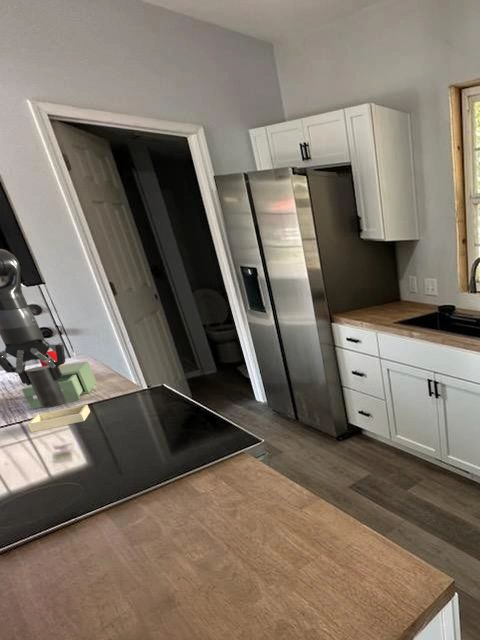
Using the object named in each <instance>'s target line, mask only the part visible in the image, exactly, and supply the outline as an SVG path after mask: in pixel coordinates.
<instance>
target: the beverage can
mask: <svg viewBox="0 0 480 640" xmlns="http://www.w3.org/2000/svg"><path fill="white" fill-rule="evenodd" d="M47 354H48V355H49V356H51V357H52V359H53V360H54V361H55V362H56V361H57V355H56V352H55V351H53V350H52V348H49V349H48V351H47ZM38 361H39V363H40V365H41V366H48V365H47V364H46V363H44V362H43V361H42V360H40V359H39V360H38ZM62 365H67V364H66V362H65V363H64V364H62Z"/></svg>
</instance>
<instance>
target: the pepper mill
mask: <svg viewBox="0 0 480 640" xmlns="http://www.w3.org/2000/svg"><path fill="white" fill-rule="evenodd" d="M50 369H51V367H49V366H42V365H41V366H36V367H31V368H27V369H25V373H26V375H27V377H28V379H29V381H30V383H31V385H32V387H33V389H34V392H35V394H36V396H37V398H38V400H39V402H40V404H41V406H42V407H41V408H49V407H54V406H59V405H61V404H64V403H67V402H66V398H65V396H64V394H63V392H62V389H61V387H60V385H59V383H58V381H57V380H55V378H54V376H53V374H52V372H51V370H50Z"/></svg>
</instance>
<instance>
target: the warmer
mask: <svg viewBox="0 0 480 640" xmlns="http://www.w3.org/2000/svg"><path fill="white" fill-rule="evenodd" d="M59 369H60V371H61V373H62V376H63V375H69V374H75V373H77V374H78V376H79V378H80V380H81V383H82V385H83V387H84V390H83V391H82V393H81V394H80V395H79V396H82V395H86V394H90V393H91V391H92V390H93V388H94V387H95V386H96V385H97V383H96V382H97V380H96V377H95V375H94V372H93V370H92V368H91V365H90V364H89V361H87V360H86V361H81V362H75V363H68V364H66V365H60V366H59ZM94 385H95V386H94Z"/></svg>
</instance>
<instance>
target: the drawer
mask: <svg viewBox="0 0 480 640" xmlns="http://www.w3.org/2000/svg"><path fill="white" fill-rule="evenodd" d="M57 381H58V383H59V385H60V387H61V389H62V392H63V394H64V396H65V398H66V402H65V403H69V402H75V401H79V400H81V397H80V396H81V395H80V394H81V393H82V391H83V390H84V387H83V385H82V383H81V380H80V378H79V376H78V374H77V373H75V374H69V375H63V376H62V377H61V378H60V380H57ZM21 391H22V393H23V395H24V397H25V399H26V401H27V403H28V405H29V407H30V409H37V408H43V407H42V406H41V404H40V402H39V400H38V398H37V396H36V394H35V392H34V389H33V387H32V385H27V387H22V388H21Z"/></svg>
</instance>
